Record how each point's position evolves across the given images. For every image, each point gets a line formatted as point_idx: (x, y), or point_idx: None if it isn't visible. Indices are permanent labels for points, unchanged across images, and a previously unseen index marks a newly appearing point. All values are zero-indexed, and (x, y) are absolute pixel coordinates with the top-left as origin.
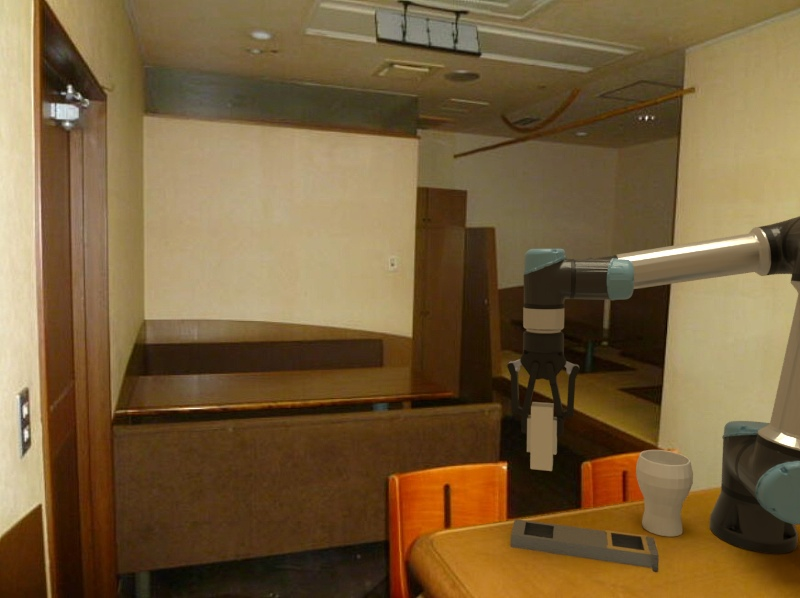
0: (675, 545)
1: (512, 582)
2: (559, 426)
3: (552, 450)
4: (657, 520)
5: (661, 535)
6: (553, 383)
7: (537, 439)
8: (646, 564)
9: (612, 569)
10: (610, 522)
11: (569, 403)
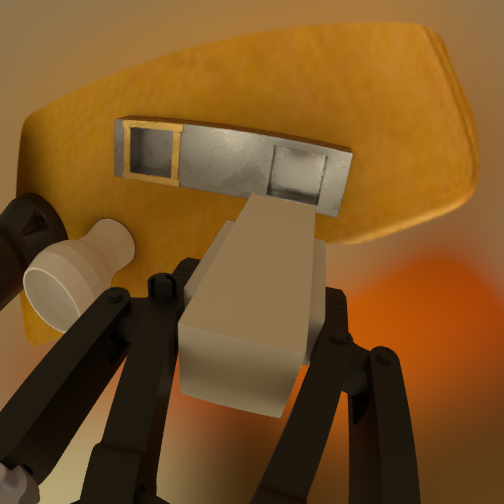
0: (101, 196)
1: (354, 46)
2: (183, 282)
3: None
4: (108, 233)
5: (114, 220)
6: (113, 454)
7: (286, 246)
8: (137, 117)
9: (187, 107)
10: (174, 254)
11: (88, 332)
